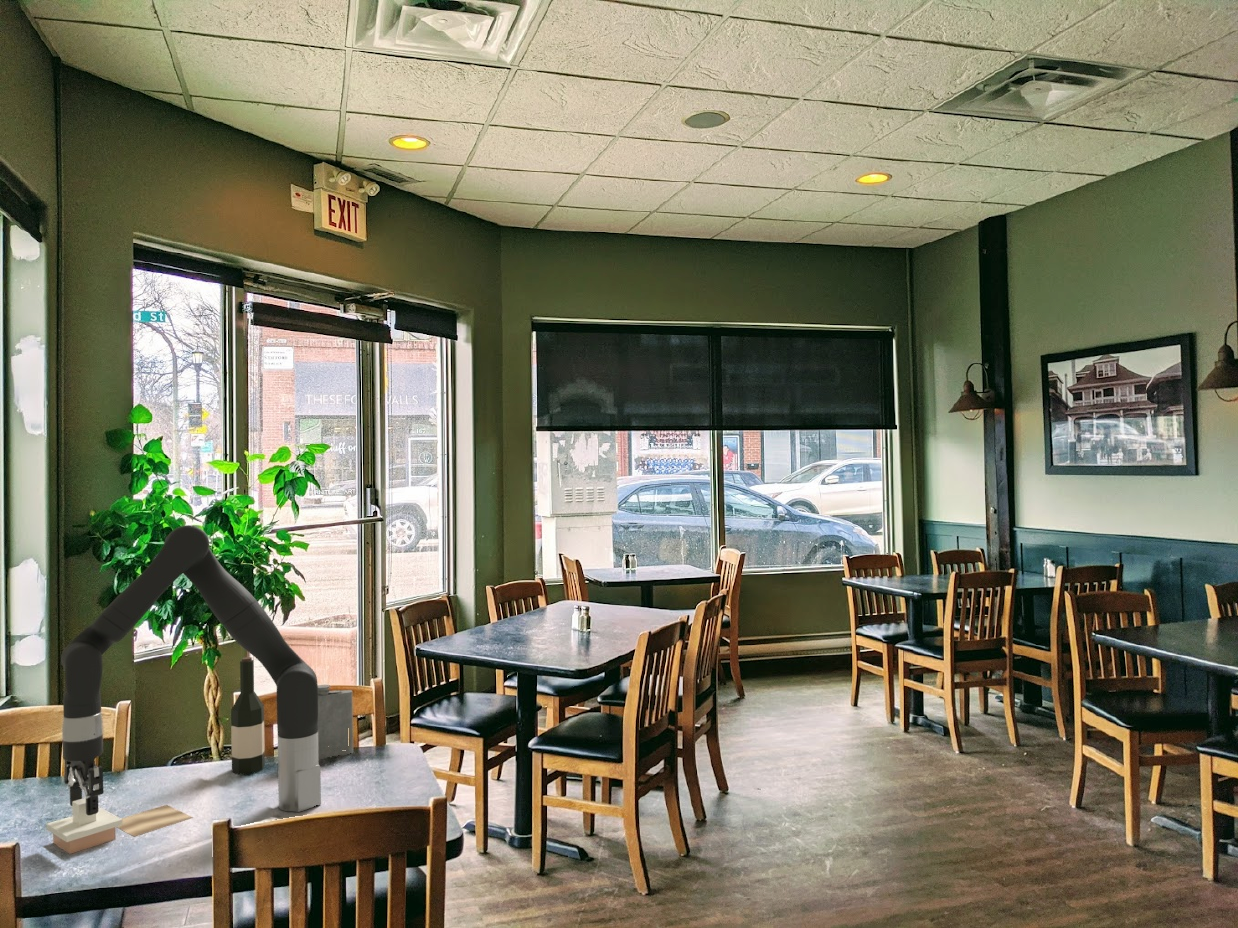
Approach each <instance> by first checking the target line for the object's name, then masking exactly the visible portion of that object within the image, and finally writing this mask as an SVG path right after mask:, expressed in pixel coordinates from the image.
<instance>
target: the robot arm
mask: <svg viewBox="0 0 1238 928" xmlns="http://www.w3.org/2000/svg"><path fill="white" fill-rule="evenodd" d="M181 575H184V576H185V577H186V578H187V579H188V580H189V582H191V583H192V584H193V585H194V586H195V588H196V590H198V592H199V594H200V595H201V597H202V599H203V600H204V602H205V603H206V604H207V606H208V608H209V609H210V610H211V612H212V613H213V615H214V616H215V617H216V619H217V620H218V622H219V624H221V626H222V627H223V628H224V629H225V630H226V632H227V633H228V634H229V635H230V637H232V639H233V640H234V641H235V642H236V643H237V644H239V645H240V647H242V648H243V649H244V650H245V651H247V652H248V653H249V654H250V655H252V656H253V657H254V658H255V659H256V660H257V661H258V662H260V664H261V665H262V666H263V667H264V668H265V670H266V671H267V673H268V674H269V676H270V677H271V679H272V681H273V682H274V684H275V686H276V726H277V779H278V780H277V781H278V783H277V787H278V788H277V791H278V809H280V810H281V811H285V812H297V813H300V812H303V811H306V810H308V809H312V808H315V807H317V806H316V805H318V806H320V805H322V789H321V788H322V786H321V785H322V783H321V781H322V780H321V765H320V764H319V762H320V760H319V758H318V686H319V685H318V684H319V683H318V676H317V673H316V672H315V671H314V669H313V668H312V667H311V666H309V664H307V663H306V662H305V660H303V659H302V658H301V657H300V656H299V654H297V653H296V652H295V651H294V649H292V647H290V645H288V643H287V642H286V640H285V638H284V637H283V635H282V634H281V632H280V630H279V629H278V627H277V626H276V625H275V623H274V622H273V620H272V619H271V617H270V616H269V615H268V613H267V612H266V610H265V608H263V607H262V605H261V604H260V603H259V602H258V600H257V599H256V598H255V596H253V594H252V593H251V592H249V591H248V589H247V588H246V587H244V585H243V584H242V583H240V582H239V580H237V579H236V578H234V576H232V575H231V574H230V573H229V572H228V571H227V570H226V569H225V568H224V567H223V566H222V565H221V563H220V562H219V559H217V557H216V556H215V554H214V553H213V551H212V549H211V548H210V539H209V536H208V535H207V532H205V531H204V530H203V529H202V528H201V527H199V526H197V525H196V526H195V525H189V524H188V525H187V524H186V525H181V526H179V527H178V526H177V527H176V528H175V529H172V531H170V532H169V534H168V535H167V536H166V537H165V539H164V541H163V545H162V547H161V549H160V550H159V552H158V553H157V555H156V556H155V558H154V559H153V560H152V562H150V564H149V565H148V566H147V567H146V568H145V569H144V570H143V571H142V573H141V574H139V576H137V578H135V580H133V581H132V583H130V584H128V586H127V587H126V588H125V589H124V590H123V591H122V592H120V593H119V594H118V595H117V596H116V597H115V599H113V600H112V602H111V603H109V604H108V605H107V607H105V609H103V611H102V612H101V613H100V614H99V615H98V616H97V617H96V619H95V620H94V621H93V622H92V623H91V624H90V625H88V626H87V627H86V628H84V630H82V632H80V633H79V634H78V635H77V636H75V637H74V638H73V639H72V640H71V641H70V642H69V643H68V645H66V646H65V648H64V650H63V651H62V653H61V655H60V663H61V666H62V667H63V669H64V670H65V692H64V693H63V699H62V700H63V703H62V704H63V706H62V707H63V719H62V726H61V727H62V728H61V731H62V732H61V733H62V735H61V738H62V742H61V743H62V760H63V761H64V773H63V774H64V779H63V780H64V784H65V785H67V788H68V789H69V806H70V807H72V801H76V800H79V799H83V791H84V795H85V798H86V814H87V815H93V814H96V813H98V809H99V796H100V795H103V794H104V792H105V791H104V771H103V769H104V768H103V765H99V766H97V764H96V758H98V757H100V756H101V755H102V754H103V752H104V728H103V727H104V726H103V725H104V723H103V716H102V697H101V696H102V695H101V687H102V679H103V678H102V677H103V669H104V668H103V667H104V666H103V665H104V663H103V654H105V653H106V651H108V649H109V648H110V647H112V646H113V645H114V644H116V643H118V642H121V640H123V639H124V638H125V637H126V636H127V635H128V634H129V632H131V630H133V628H135V626H136V625H137V624H138V622H139V621H140V620H142V619H143V618H144V616H145V615H146V614H147V612H148V611H149V610H150V609H151V607H153V605H154V604H155V603H156V602H157V601H158V599H159V598H160V596H162V595H163V593H164V592H165V591H166V590H167V589H168V588H169V587H170V586H171V585H172V584H174V582H175V581H176V580H177V579H178V578H179V577H181ZM319 804H320V805H319ZM314 806H315V807H314Z"/></svg>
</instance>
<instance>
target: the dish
mask: <svg viewBox="0 0 1238 928" xmlns="http://www.w3.org/2000/svg"><path fill="white" fill-rule="evenodd" d="M116 836H117V835H116V827H114V828H111V829H108V830H104V831H101V832H98V833H95V834H92V835H88V836H85V837H82V838H79V839H76V840H72V841H69V842H66V841H64V840H62V839H61V838H59V837H58V836H56V835H54V834H53V833H52V842H53V844H54V845H56V846H57V847H59V848H60V849H61V850H64V851H65V852H66V853H68V854H70V855H71V854H74V853H77V852H80V851H83V850H86V849H87V850H88V849H90V848H93V847H96V846H98V845H99V846H100V845H102V844H106V843H108V842H112V841H115V840H116V839H117V838H116Z"/></svg>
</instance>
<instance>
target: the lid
mask: <svg viewBox="0 0 1238 928" xmlns="http://www.w3.org/2000/svg"><path fill="white" fill-rule="evenodd" d="M71 808H72V815H71V816H69V817H65V818H60V819H57V820H55V821H51V822H48V823H46V824H45V825H46V826H45V827H46V828H45V829H46V831H48V832H50V833H51V834H52V835H53V834H54V835H56V836H58V837H59V838H61V839H62V840H64V841H66V842H69V841H72V840H76V839H79V838H82V837H85V836H88V835H92V834H95V833H98V832H101V831H104V830H108V829H111V828H114V827H115V828H117V826H120V825H123V819H122V818H121V817H119V816H118V815H115V814H113V813H112V812H109V811H108V810H106V809H104V808H102V807H98V813H96V814H93V815H87V814H86V797H84V798H83V797H82V799H79V800H76V801H72V806H71Z"/></svg>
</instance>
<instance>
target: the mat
mask: <svg viewBox="0 0 1238 928" xmlns="http://www.w3.org/2000/svg"><path fill="white" fill-rule="evenodd" d="M193 818H194V817H193V816H191V815H189V814H187V813H185V812H183V811H180V810H179V809H176V808H175V807H173V806H170V805H168V804H165V805H161V806H157V807H155V808H151V809H148V810H145V811H142V812H138V813H135V814H132V815H129V816H125V817H122V818H121V819H123V825H120V826H117V827H116V829H117V828H118V829H119V830H121V831H123V832H124V833H126V834H128V835H130V836H131V837H134V838H135V837H139V836H142V835H144V834H147V833H150V832H154V831H157V830H159V829H164V828H166V827H169V826H173V825H176V824H178V823H181V822H184V821H185V822H186V821H187V820H190V819H193Z"/></svg>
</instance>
